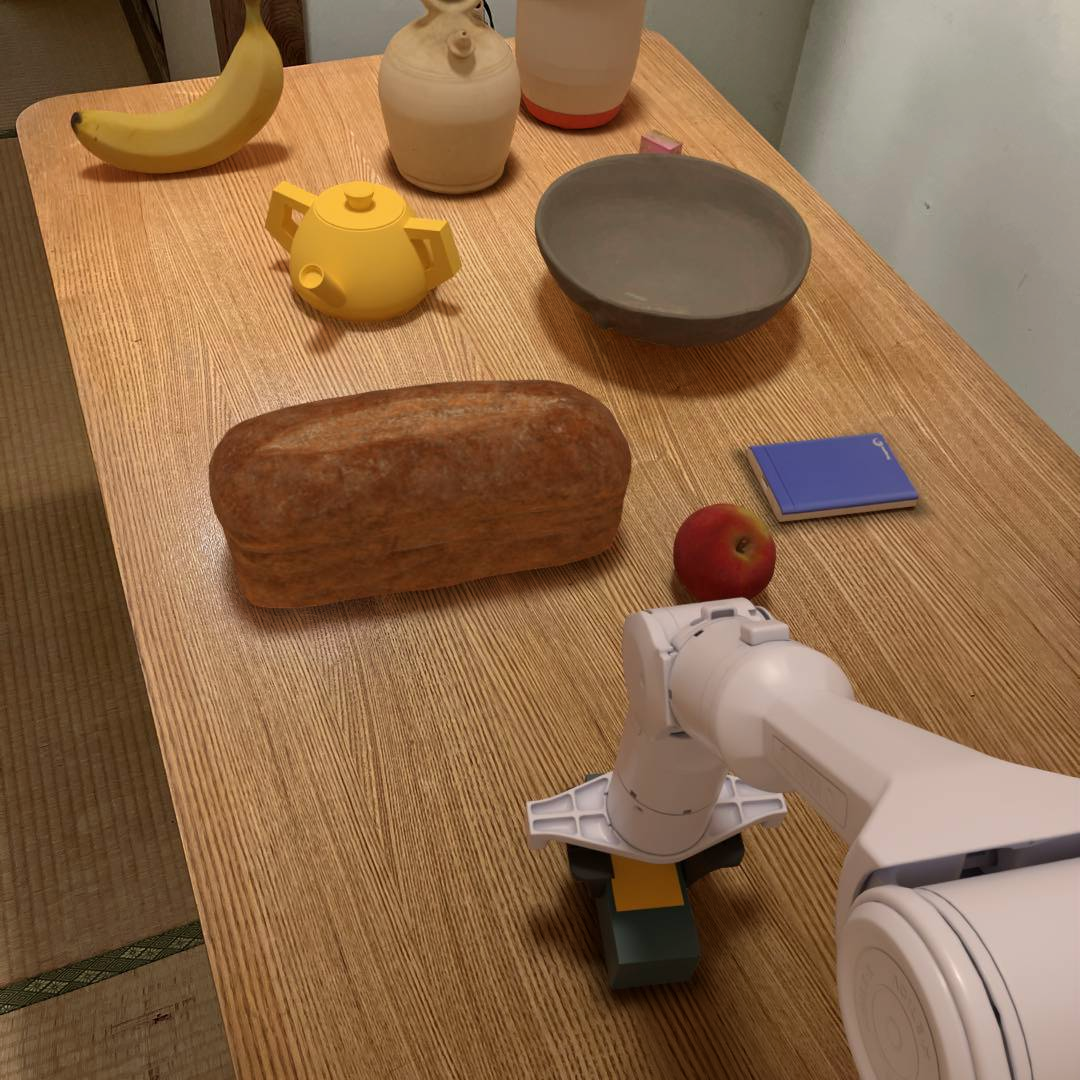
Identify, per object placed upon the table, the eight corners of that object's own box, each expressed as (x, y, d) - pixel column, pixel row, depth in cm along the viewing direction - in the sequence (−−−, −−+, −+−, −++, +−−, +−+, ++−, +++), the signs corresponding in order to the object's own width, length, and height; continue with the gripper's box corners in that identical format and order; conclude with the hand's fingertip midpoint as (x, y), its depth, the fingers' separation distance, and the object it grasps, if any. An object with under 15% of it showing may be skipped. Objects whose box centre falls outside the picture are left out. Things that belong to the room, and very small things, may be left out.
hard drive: (879, 430, 96) (749, 443, 94) (920, 495, 91) (783, 511, 88) (874, 443, 97) (746, 456, 95) (914, 508, 92) (779, 524, 90)
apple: (662, 621, 82) (680, 552, 76) (668, 543, 87) (685, 473, 81) (762, 636, 81) (787, 568, 76) (762, 557, 87) (785, 487, 81)
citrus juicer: (574, 65, 144) (590, -100, 129) (658, 121, 135) (684, -50, 120) (477, 91, 137) (481, -81, 122) (558, 151, 128) (574, -26, 113)
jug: (391, 129, 129) (382, -102, 110) (519, 140, 129) (533, -88, 111) (372, 197, 119) (360, -46, 100) (512, 208, 119) (525, -31, 101)
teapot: (219, 327, 102) (199, 224, 94) (304, 229, 114) (293, 130, 105) (417, 378, 99) (415, 276, 91) (482, 272, 111) (486, 173, 102)
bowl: (817, 283, 114) (844, 197, 106) (743, 431, 97) (768, 342, 90) (590, 213, 120) (600, 127, 112) (483, 341, 103) (486, 250, 96)
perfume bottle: (603, 182, 124) (607, 145, 121) (666, 148, 131) (672, 112, 127) (685, 225, 119) (692, 188, 116) (747, 187, 126) (755, 151, 122)
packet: (690, 981, 64) (702, 954, 61) (610, 989, 63) (619, 963, 60) (650, 798, 72) (659, 767, 69) (579, 804, 71) (585, 773, 68)
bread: (220, 515, 86) (192, 384, 76) (588, 462, 93) (606, 336, 83) (234, 634, 78) (204, 506, 68) (633, 567, 85) (659, 441, 75)
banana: (86, 190, 116) (34, -4, 101) (82, 163, 119) (32, -28, 104) (296, 167, 122) (277, -18, 107) (287, 142, 125) (267, -41, 111)
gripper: (782, 692, 60) (732, 809, 70) (524, 711, 58) (511, 829, 68) (820, 807, 55) (761, 915, 65) (541, 831, 53) (524, 939, 63)
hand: (635, 878), depth 66 cm, fingers closed on packet, 5 cm apart
